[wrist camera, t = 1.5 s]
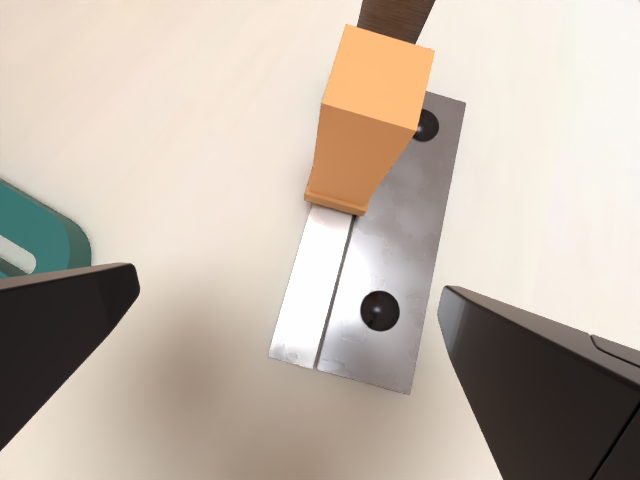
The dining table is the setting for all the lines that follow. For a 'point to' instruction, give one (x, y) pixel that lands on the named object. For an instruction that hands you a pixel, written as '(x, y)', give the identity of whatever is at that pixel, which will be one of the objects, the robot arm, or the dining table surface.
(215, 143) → the dining table surface
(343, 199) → the block
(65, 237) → the bracket
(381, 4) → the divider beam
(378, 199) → the bolt plate
